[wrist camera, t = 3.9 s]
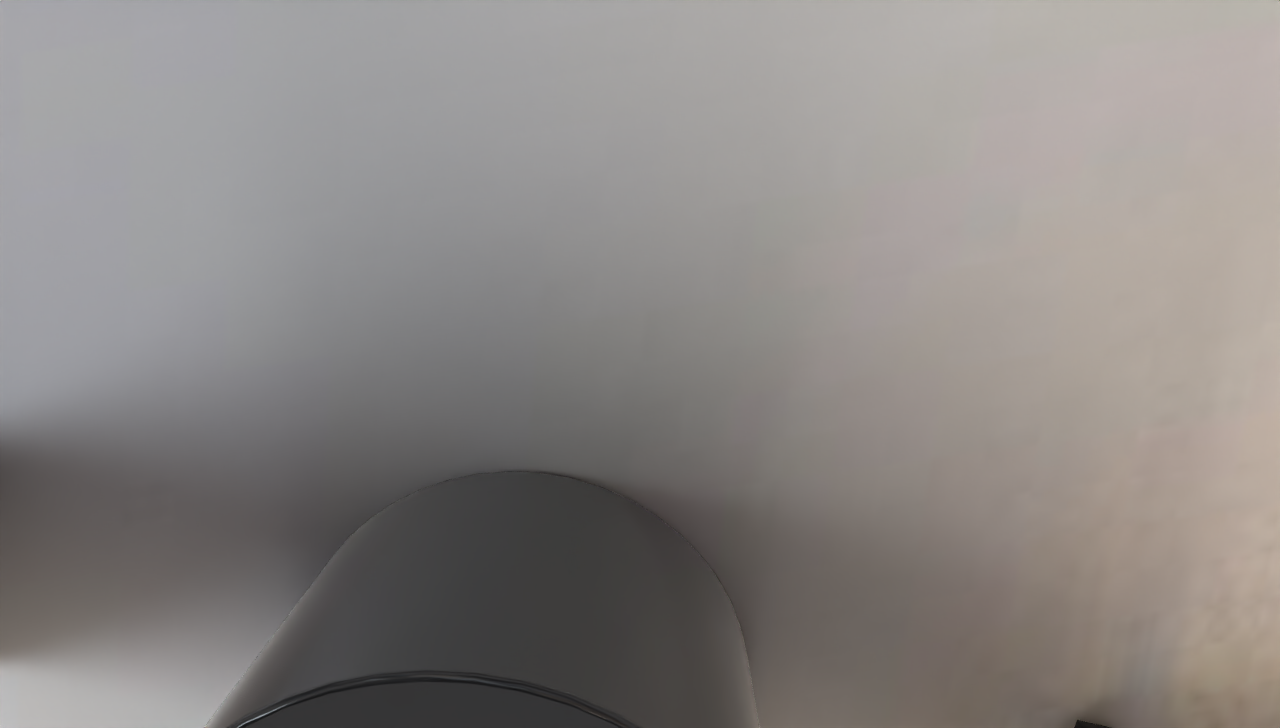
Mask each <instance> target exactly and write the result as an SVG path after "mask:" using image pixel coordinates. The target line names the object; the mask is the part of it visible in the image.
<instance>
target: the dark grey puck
mask: <svg viewBox="0 0 1280 728" xmlns="http://www.w3.org/2000/svg"><path fill="white" fill-rule="evenodd" d="M204 728H760V726H759V720H758V714H757V708H756V703H755V697H754V691H753V685H752V680H751V674H750V668H749V662H748V657H747V652H746V647H745V643H744V638H743V633H742V629H741V627H740V624H739V621H738V619H737V616H736V613H735V611H734V608H733V605H732V603H731V601H730V599H729V597H728V596H727V594H726V592H725V590H724V588H723V586H722V585H721V583H720V581H719V579H718V578H717V576H716V575H715V574H714V572H713V571H712V570H711V568H710V567H709V566H708V564H707V563H706V561H705V560H704V559H703V557H702V556H701V555H700V554H699V553H698V552H697V551H696V550H695V549H694V548H693V547H692V546H691V545H690V544H689V543H688V542H687V541H686V540H685V538H684V537H683V536H682V535H681V534H679V533H678V532H677V531H676V530H674V529H673V528H672V527H671V526H669V525H668V524H667V523H665V522H664V521H663V520H662V519H660V518H659V517H658V516H657V515H655V514H653V513H652V512H650V511H648V510H647V509H645V508H643V507H642V506H640V505H638V504H637V503H635V502H633V501H632V500H630V499H628V498H625V497H623V496H621V495H618V494H616V493H614V492H612V491H609V490H607V489H605V488H603V487H600V486H596V485H593V484H590V483H586V482H583V481H580V480H576V479H573V478H568V477H562V476H556V475H551V474H545V473H534V472H512V471H508V472H495V473H482V474H475V475H470V476H465V477H460V478H455V479H450V480H446V481H444V482H441V483H438V484H435V485H432V486H429V487H426V488H423V489H420V490H418V491H416V492H414V493H412V494H410V495H408V496H406V497H404V498H402V499H400V500H398V501H396V502H394V503H392V504H391V505H389V506H388V507H386V508H385V509H383V510H382V511H380V512H379V513H377V514H376V515H374V516H373V517H371V518H370V519H369V520H367V521H366V522H365V523H364V524H363V525H362V526H361V527H360V528H359V529H357V530H356V531H355V532H354V533H353V534H352V535H351V536H350V537H349V538H348V539H347V540H346V541H345V542H344V543H343V544H342V546H341V547H340V548H339V549H338V550H337V552H336V553H335V554H334V555H333V557H332V558H331V559H330V560H329V561H328V563H327V564H326V565H325V567H324V568H323V569H322V571H321V572H320V573H319V575H318V576H317V577H316V579H315V580H314V581H313V583H312V584H311V585H310V587H309V588H308V589H307V591H306V592H305V593H304V595H303V596H302V597H301V599H300V600H299V601H298V603H297V604H296V605H295V607H294V608H293V609H292V611H291V612H290V613H289V615H288V616H287V617H286V619H285V620H284V621H283V623H282V624H281V625H280V627H279V628H278V629H277V631H276V632H275V633H274V635H273V636H272V637H271V639H270V640H269V641H268V643H267V644H266V645H265V647H264V648H263V649H262V651H261V652H260V653H259V655H258V656H257V657H256V659H255V660H254V661H253V663H252V664H251V665H250V667H249V668H248V669H247V671H246V672H245V673H244V675H243V676H242V677H241V679H240V680H239V681H238V683H237V684H236V685H235V687H234V688H233V689H232V691H231V692H230V693H229V695H228V696H227V697H226V699H225V700H224V701H223V703H222V704H221V705H220V707H219V708H218V709H217V711H216V712H215V713H214V715H213V716H212V717H211V719H210V720H209V721H208V723H207V724H206V725H205V727H204Z"/></svg>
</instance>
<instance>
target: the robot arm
mask: <svg viewBox="0 0 1280 728" xmlns="http://www.w3.org/2000/svg"><path fill="white" fill-rule="evenodd" d="M1074 728H1110V727H1106V726H1102V725H1098V724H1093V723H1089V722H1085V721H1081V720H1077V722H1076V724H1075V727H1074Z"/></svg>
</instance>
